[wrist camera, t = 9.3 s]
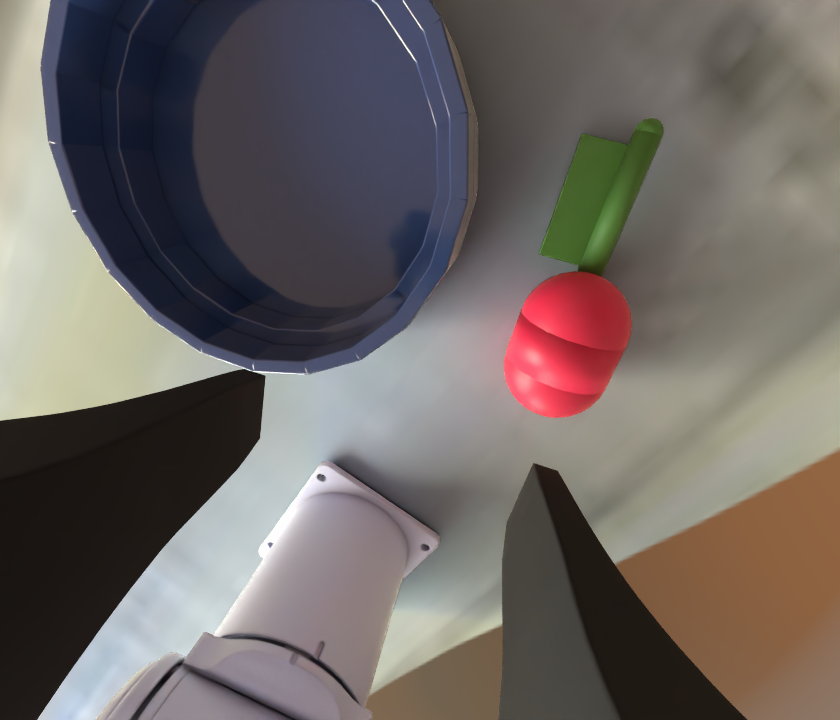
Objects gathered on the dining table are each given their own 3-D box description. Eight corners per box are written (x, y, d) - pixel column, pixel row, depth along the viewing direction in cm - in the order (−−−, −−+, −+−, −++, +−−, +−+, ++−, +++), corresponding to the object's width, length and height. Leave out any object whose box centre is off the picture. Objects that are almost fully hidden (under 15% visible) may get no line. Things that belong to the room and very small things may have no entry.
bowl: (359, 396, 22) (327, 440, 18) (100, 217, 21) (14, 226, 17) (565, 104, 15) (580, 82, 12) (202, -179, 14) (96, -296, 11)
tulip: (579, 400, 20) (592, 451, 16) (493, 373, 20) (488, 418, 16) (702, 136, 15) (761, 125, 11) (588, 107, 15) (609, 88, 12)
